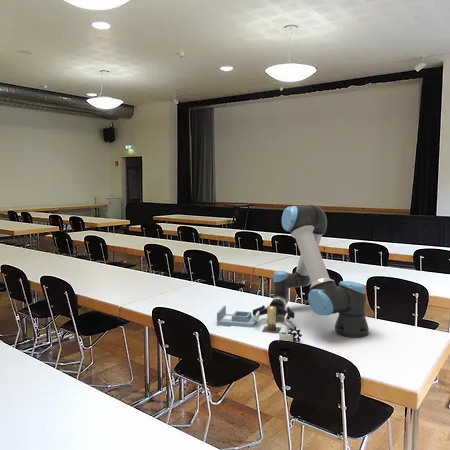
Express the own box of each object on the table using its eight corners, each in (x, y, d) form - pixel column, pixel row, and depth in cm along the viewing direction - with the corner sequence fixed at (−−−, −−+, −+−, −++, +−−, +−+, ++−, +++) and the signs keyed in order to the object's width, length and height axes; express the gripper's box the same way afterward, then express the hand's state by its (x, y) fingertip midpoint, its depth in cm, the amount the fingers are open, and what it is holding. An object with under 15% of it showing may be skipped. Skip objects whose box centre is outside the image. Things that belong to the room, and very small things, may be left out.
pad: (281, 328, 206) (281, 327, 206) (278, 334, 198) (278, 333, 198) (264, 326, 208) (264, 326, 208) (261, 332, 201) (261, 331, 200)
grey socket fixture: (258, 320, 218) (258, 308, 217) (253, 328, 207) (253, 316, 206) (223, 317, 223) (223, 306, 222) (217, 325, 211) (216, 313, 211)
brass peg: (276, 328, 205) (276, 305, 203) (275, 331, 201) (275, 308, 200) (268, 327, 206) (268, 305, 204) (266, 330, 202) (266, 307, 201)
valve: (288, 351, 179) (302, 342, 188) (288, 336, 178) (302, 328, 188) (274, 348, 183) (288, 339, 192) (274, 333, 182) (288, 325, 192)
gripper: (302, 314, 219) (297, 329, 198) (253, 311, 225) (244, 324, 205) (302, 300, 218) (297, 313, 197) (253, 297, 224) (244, 309, 204)
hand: (270, 319), depth 201 cm, fingers open, 13 cm apart
